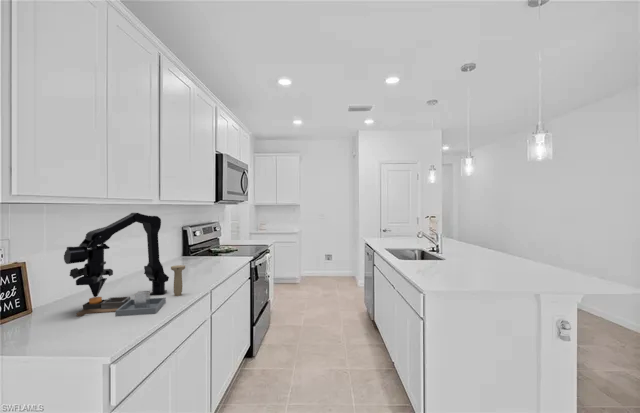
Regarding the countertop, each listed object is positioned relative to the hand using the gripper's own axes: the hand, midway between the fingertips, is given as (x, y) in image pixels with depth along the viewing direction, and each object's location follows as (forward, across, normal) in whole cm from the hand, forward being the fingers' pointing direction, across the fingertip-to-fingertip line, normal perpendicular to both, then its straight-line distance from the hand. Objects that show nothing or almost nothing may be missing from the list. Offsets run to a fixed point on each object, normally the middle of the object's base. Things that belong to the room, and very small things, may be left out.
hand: (95, 296), depth 130 cm
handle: (+6, -13, +30) cm, 33 cm away
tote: (+6, +6, +20) cm, 21 cm away
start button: (+3, 0, 0) cm, 3 cm away
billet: (+5, +6, +20) cm, 21 cm away
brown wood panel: (+6, 0, +4) cm, 7 cm away
